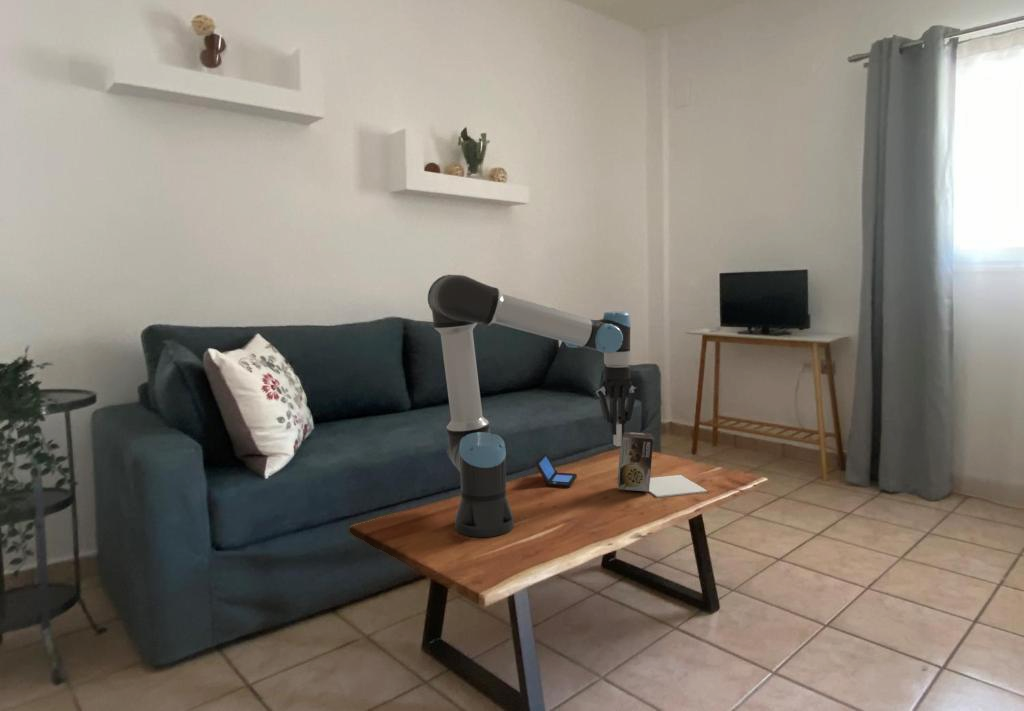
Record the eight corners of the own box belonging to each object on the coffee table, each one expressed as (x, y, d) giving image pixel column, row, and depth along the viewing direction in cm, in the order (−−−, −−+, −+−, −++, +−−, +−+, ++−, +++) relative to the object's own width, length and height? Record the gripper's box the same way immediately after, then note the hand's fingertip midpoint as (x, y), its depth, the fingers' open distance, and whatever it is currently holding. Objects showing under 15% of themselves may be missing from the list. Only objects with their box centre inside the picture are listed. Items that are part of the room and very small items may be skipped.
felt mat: (656, 497, 192) (656, 495, 192) (633, 481, 207) (633, 479, 207) (707, 492, 196) (707, 490, 195) (680, 476, 211) (680, 474, 211)
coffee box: (646, 485, 201) (652, 433, 199) (649, 492, 195) (654, 438, 193) (616, 482, 202) (621, 430, 200) (617, 489, 196) (622, 435, 193)
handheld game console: (570, 489, 201) (569, 465, 200) (535, 486, 204) (534, 463, 203) (577, 477, 213) (577, 454, 212) (544, 474, 216) (544, 452, 215)
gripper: (632, 362, 198) (632, 440, 201) (591, 364, 195) (592, 443, 198) (643, 365, 191) (643, 446, 194) (600, 368, 187) (601, 450, 190)
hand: (617, 445), depth 196 cm, fingers closed
